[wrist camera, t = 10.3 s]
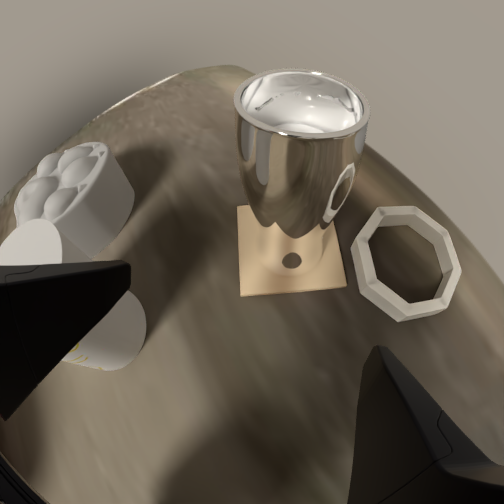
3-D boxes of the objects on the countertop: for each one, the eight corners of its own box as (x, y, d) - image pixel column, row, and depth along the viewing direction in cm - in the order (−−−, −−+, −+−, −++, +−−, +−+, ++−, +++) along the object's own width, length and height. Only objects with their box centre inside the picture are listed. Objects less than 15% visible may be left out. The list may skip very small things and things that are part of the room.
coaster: (241, 296, 23) (240, 295, 23) (237, 208, 28) (237, 206, 27) (345, 287, 23) (346, 285, 23) (327, 202, 27) (327, 200, 27)
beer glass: (266, 294, 23) (260, 158, 10) (239, 226, 26) (212, 80, 13) (340, 265, 24) (403, 127, 10) (307, 204, 27) (326, 61, 13)
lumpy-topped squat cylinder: (43, 226, 29) (5, 187, 21) (118, 167, 32) (91, 117, 24) (60, 285, 25) (8, 248, 17) (150, 214, 28) (117, 157, 20)
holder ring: (365, 327, 21) (373, 322, 20) (343, 219, 26) (347, 208, 24) (458, 308, 21) (470, 302, 19) (429, 216, 26) (437, 205, 24)
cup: (66, 351, 22) (-27, 315, 11) (92, 278, 25) (15, 213, 14) (131, 383, 20) (32, 367, 10) (157, 298, 24) (83, 226, 13)
